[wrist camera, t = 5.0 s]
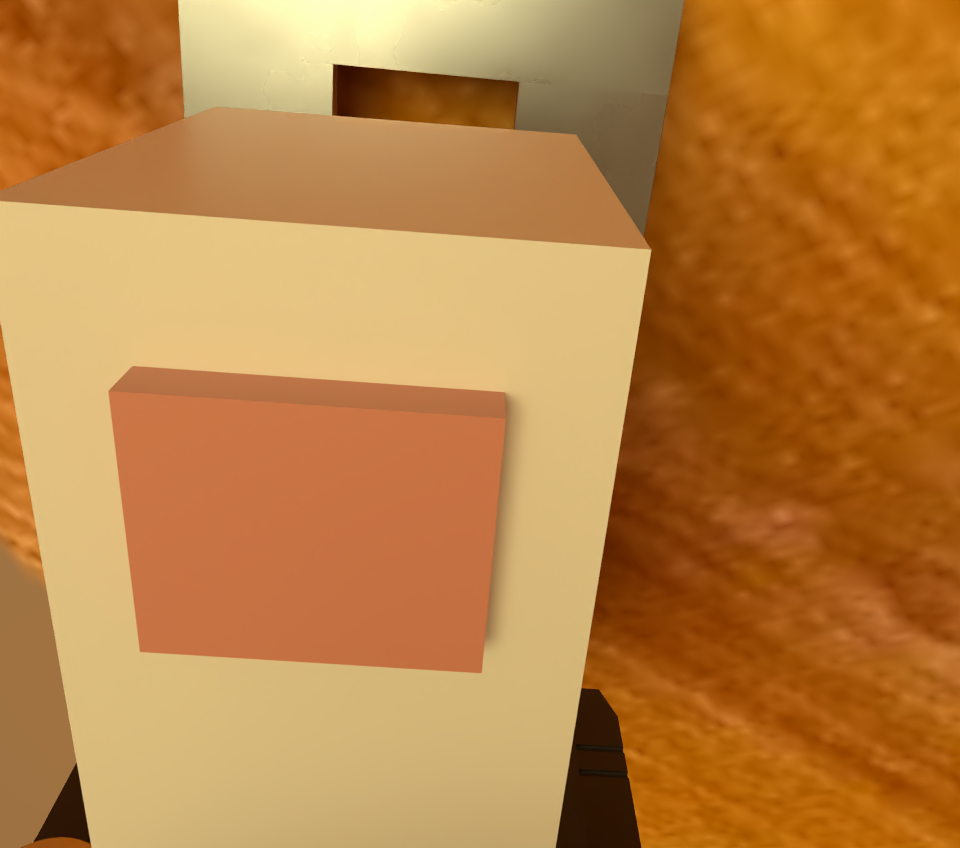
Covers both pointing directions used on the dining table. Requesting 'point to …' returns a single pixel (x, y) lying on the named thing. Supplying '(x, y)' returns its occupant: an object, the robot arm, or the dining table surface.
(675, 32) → the slotted board
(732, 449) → the dining table surface
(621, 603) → the dining table surface
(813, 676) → the dining table surface
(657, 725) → the dining table surface
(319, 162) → the cream rectangular block
